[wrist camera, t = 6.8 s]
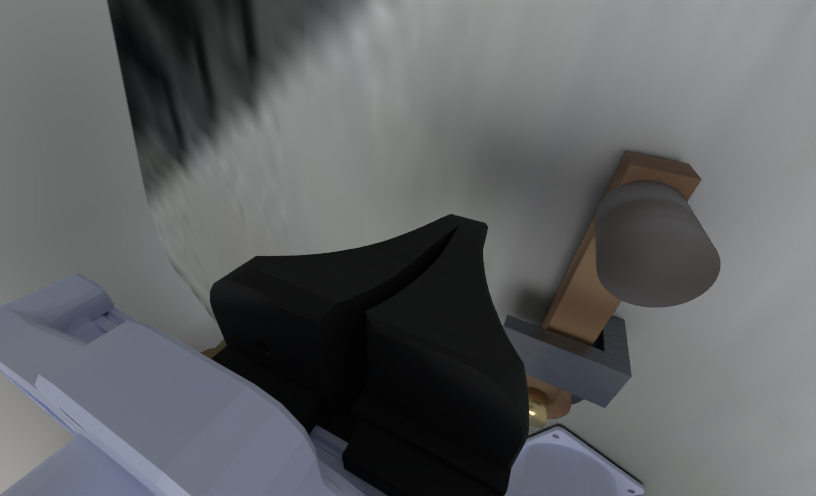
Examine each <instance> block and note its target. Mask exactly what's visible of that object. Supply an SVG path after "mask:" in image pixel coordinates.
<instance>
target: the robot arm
mask: <svg viewBox="0 0 816 496" xmlns="http://www.w3.org/2000/svg"><path fill="white" fill-rule="evenodd" d="M487 230H488V226H487V225H486V223H483V222H479V221H475V220H472V219H468V218H464V217H460V216H456V215H453V214H450V215H447V216H445V217H443V218H440V219H438V220H436V221H434V222H432V223H429V224H427V225H425V226H423V227H420V228H418V229H416V230H413V231H411V232H408V233H406V234H403V235H400V236H398V237H395V238H392V239H389V240H386V241H383V242H379V243H376V244H372V245H368V246H364V247H359V248H354V249H348V250H343V251H337V252H331V253H322V254H311V255H297V256H255V257H254V258H252V259H251V260H249V261H248V262H246V263H245V264H243V265H241V266H240V267H238V268H237V269H235V270H234V271H232V272H231V273H229V274H228V275H226V276H225V277H223V278H221V279H220V280H218V281H217V282H215V283H214V284H213V286H212V288H211V290H210V303H211V307H212V310H213V313H214V315H215V318H216V320H217V323H218V325H219V327H220V330H221V332H222V335H223V337H224V340H225V342H226V344H227V346H226V347H224V348H223V349H222V350H221V351H220V352H218V353H217V354H216V355H215V356H214V357H212V358H211V359H210V358H208V357H206V356H204V355H203V354H201V353H199V352H197V351H196V350H194V349H192V348H190V347H189V346H187V345H185V344H183V343H182V342H180V341H178V340H176V339H175V338H173V337H171V336H170V335H168V334H166V333H164V332H163V331H161V330H159V329H157V328H156V327H154V326H152V325H149V324H146V323H143V322H140V321H137V320H135V319H134V318H132V317H130V316H128V315H126V314H125V313H123V312H121V311H120V310H118V309H116V308H115V307H114V303H113V302H112V300H111V298H110V297H109V295H108V294H107V293H106V291H105V290H104V289H103V288H102V287H101V286H99V285H98V284H97V283H95V282H93V281H91V280H89V279H88V278H86V277H84V276H82V275H80V274H76V273H75V274H72V275H70V276H67V277H65V278H63V279H61V280H59V281H56V282H54V283H52V284H50V285H47V286H45V287H43V288H41V289H38V290H36V291H34V292H32V293H30V294H27V295H25V296H23V297H21V298H18V299H16V300H14V301H12V302H9V303H7V304H5V305H3V306H1V307H0V371H1V372H2V373H3V374H4V375H5V376H6V377H7V378H8V379H9V380H11V381H12V382H13V383H14V384H15V385H16V386H17V387H18V388H20V389H21V390H22V391H23V392H24V393H25V394H27V395H28V396H29V397H30V398H31V399H32V400H33V401H34V402H36V403H37V404H38V405H39V406H40V407H41V408H43V409H44V410H45V411H46V412H47V413H48V414H49V415H51V416H52V417H53V418H54V419H55V420H56V421H57V422H59V423H60V424H61V425H62V426H63V427H64V428H65V429H67V430H68V431H69V432H70V433H71V434H72V435H74V436H75V438H73V439H72V440H71V441H70V442H68V443H67V444H66V445H65V446H63V447H62V448H61V449H59V450H58V451H57V452H55V453H54V454H53V455H51V456H50V457H49V458H47V459H46V460H45V461H44V462H42V463H41V464H40V465H38V466H37V467H36V468H34V469H33V470H32V471H31V472H29V473H28V474H27V475H25V476H24V477H23V478H21V479H20V480H19V481H17V482H16V483H15V484H14V485H12V486H11V487H10V488H8V489H7V490H6V491H4V492H3V493H2V494H1V495H0V496H634V495H640V494H643V493H644V487H643V486H642V485H641V484H640V483H639V482H637V481H636V480H635V479H633V478H632V477H630V476H629V475H628V474H626V473H625V472H623V471H622V470H621V469H619V468H618V467H617V466H615V465H614V464H612V463H611V462H610V461H608V460H607V459H606V458H604V457H603V456H601V455H600V454H599V453H597V452H596V451H594V450H593V449H592V448H590V447H589V446H588V445H586V444H585V443H583V442H582V441H581V440H579V439H578V438H576V437H575V436H574V435H572V434H571V433H570V432H568V431H567V430H565V429H564V428H562V427H558V426H557V427H554V428H552V429H549V430H547V431H544V432H542V433H540V434H537V435H535V436H533V437H530V438H528V439H527V436H528V431H529V396H528V387H527V379H526V373H525V366H524V363H523V361H522V360H521V358H520V357H519V355H518V353H517V352H516V350H515V348H514V347H513V345H512V343H511V342H510V340H509V338H508V336H507V334H506V332H505V330H504V328H503V326H502V324H501V322H500V319H499V317H498V315H497V312H496V310H495V307H494V305H493V302H492V299H491V296H490V293H489V289H488V285H487V281H486V276H485V270H484V262H483V247H484V243H485V239H486V234H487Z"/></svg>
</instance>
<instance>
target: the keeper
mask: <svg viewBox="0 0 816 496" xmlns="http://www.w3.org/2000/svg"><path fill="white" fill-rule="evenodd" d="M503 328H504V330H505V332H506V334H507V336H508V338H509V340H510V342H511V343H512V345H513V347H514V348H515V350H516V352H517V353H518V355H519V357H520V358H521V360H522V361H523V363H524V366H525V373H526V374H527V375H530V376H532V377H534V378H537V379H539V380H541V381H544V382H546V383H548V384H551V385H553V386H555V387H558V388H560V389H562V390H565V391H567V392H569V393H572V394H574V395H576V396H579V397H581V398H583V399H586V400H588V401H590V402H593V403H595V404H597V405H600V406H602V407H604V408H605V407H606V406H607V405H608V404H609V402H610V401H611V400H612V399H613V398H614V396H615V395H616V394H617V393H618V392H619V391H620V389H621V388H622V387H623V386H624V385H625V384H626V382H627V381H628V380H629V379H630V378H631V377H632V375H631V368H630V360H629V352H628V345H627V337H626V329H625V322H624V320H623V319H620V318H617V317H614V316H611V317H610V319H609V320H608V322H607V323H606V325H605V327H604V328H603V330H602V331H601V333H600V334H599V336H598V337H597V339H596V340H595V342H594V343H593V345H592V346H589V345H586V344H583V343H581V342H578V341H575V340H573V339H570V338H567V337H565V336H562V335H560V334H557V333H554V332H552V331H549V330H546V329H544V328H541V327H538V326H536V325H533V324H530V323H528V322H525V321H523V320H520V319H517V318H515V317H512V316H509V315H507V317H506V319H505V322H504V325H503Z"/></svg>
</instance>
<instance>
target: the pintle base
mask: <svg viewBox="0 0 816 496" xmlns="http://www.w3.org/2000/svg"><path fill="white" fill-rule="evenodd" d="M528 396H529V426H532V427H543V426H545V425H546V422H547V413H548V404H549V400H548V398H547V396H546V395H545V394H544V393H542V392H541V391H539V390H536V389H532V388H528ZM582 400H584V399H583V398H581V397H579V396H576V395H574V394H572V393H571V404H575V403H577V402H580V401H582Z"/></svg>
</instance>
